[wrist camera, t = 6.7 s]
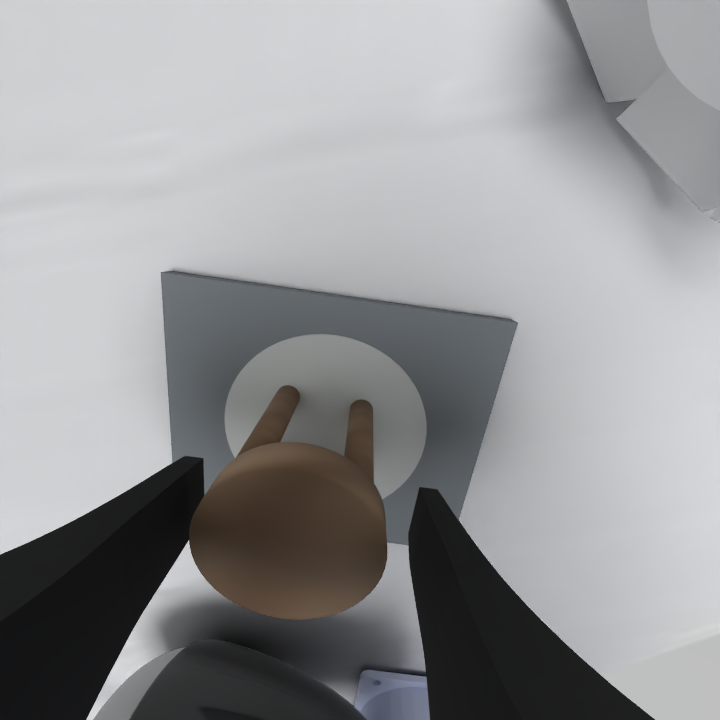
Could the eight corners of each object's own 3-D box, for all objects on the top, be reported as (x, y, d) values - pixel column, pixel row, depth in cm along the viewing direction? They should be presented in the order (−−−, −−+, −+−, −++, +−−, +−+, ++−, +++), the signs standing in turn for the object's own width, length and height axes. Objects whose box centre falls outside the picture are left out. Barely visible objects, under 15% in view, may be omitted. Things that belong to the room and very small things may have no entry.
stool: (393, 391, 14) (408, 490, 8) (367, 494, 16) (365, 632, 10) (264, 366, 14) (191, 451, 8) (253, 473, 16) (186, 602, 10)
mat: (511, 319, 14) (519, 323, 13) (446, 540, 18) (449, 552, 17) (169, 271, 13) (159, 272, 13) (182, 506, 17) (174, 516, 17)
